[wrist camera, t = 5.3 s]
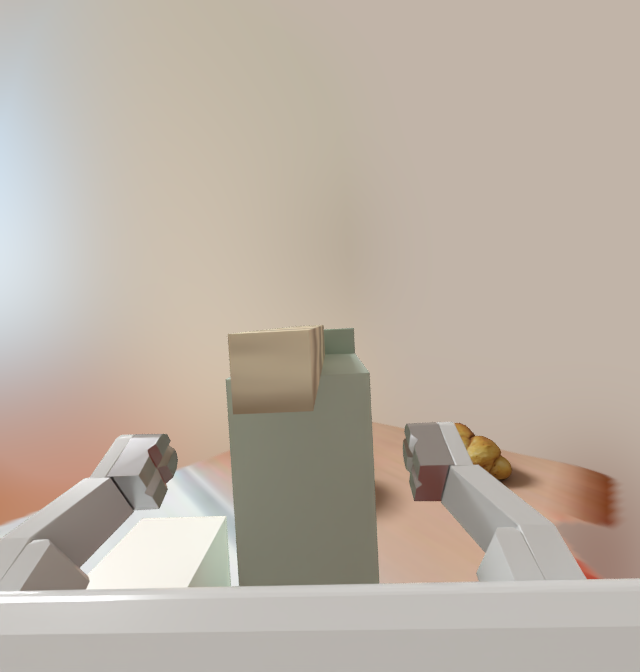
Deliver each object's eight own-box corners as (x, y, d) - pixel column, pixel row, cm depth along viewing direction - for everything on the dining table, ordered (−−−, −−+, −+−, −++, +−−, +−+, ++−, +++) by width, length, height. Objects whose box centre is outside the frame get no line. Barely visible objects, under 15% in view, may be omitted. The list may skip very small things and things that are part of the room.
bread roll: (521, 476, 59) (519, 433, 58) (493, 494, 53) (492, 447, 53) (457, 454, 69) (455, 418, 69) (428, 468, 64) (427, 428, 64)
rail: (313, 411, 12) (308, 329, 12) (233, 414, 12) (227, 334, 12) (324, 354, 32) (323, 325, 32) (295, 356, 32) (293, 326, 32)
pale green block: (388, 783, 21) (367, 332, 19) (252, 782, 21) (223, 339, 20) (365, 597, 35) (352, 328, 33) (283, 598, 35) (268, 332, 34)
